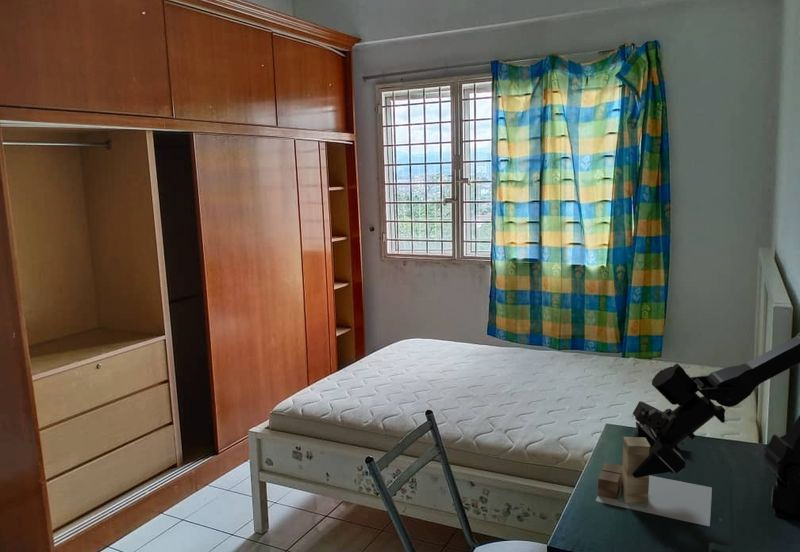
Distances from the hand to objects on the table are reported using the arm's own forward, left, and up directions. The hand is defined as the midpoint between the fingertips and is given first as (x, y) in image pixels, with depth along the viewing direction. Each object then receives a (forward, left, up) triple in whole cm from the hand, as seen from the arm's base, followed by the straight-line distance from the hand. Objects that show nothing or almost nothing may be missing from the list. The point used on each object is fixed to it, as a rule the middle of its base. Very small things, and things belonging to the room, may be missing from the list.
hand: (628, 465), depth 133 cm
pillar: (-1, 0, -7) cm, 8 cm away
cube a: (+4, 0, -8) cm, 9 cm away
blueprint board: (-5, -4, -9) cm, 11 cm away
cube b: (+4, -5, -8) cm, 10 cm away
